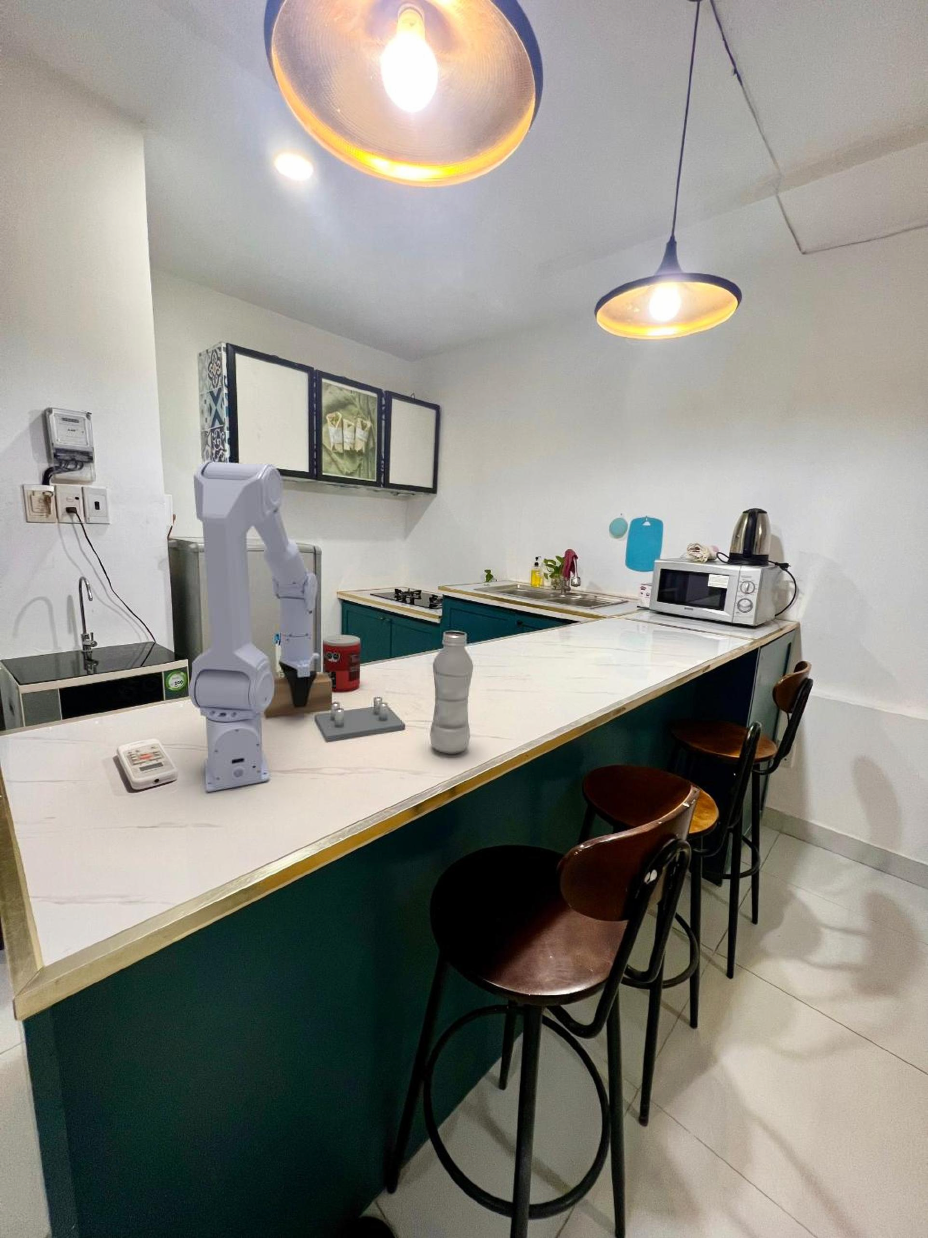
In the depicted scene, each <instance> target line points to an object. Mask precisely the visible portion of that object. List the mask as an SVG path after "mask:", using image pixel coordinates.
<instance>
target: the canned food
mask: <svg viewBox="0 0 928 1238" xmlns="http://www.w3.org/2000/svg"><path fill="white" fill-rule="evenodd" d="M324 673H326V674H327V675H328V676H329V678H330V679H331V680H332V693H348V692H351V691H355V690H357V689H358V688H359V686H360V684H361V638H360V637H358V636H356V635H350V634H349V635H348V634H335V635H328V636H325V637H323V638H322V674H324Z"/></svg>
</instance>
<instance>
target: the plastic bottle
mask: <svg viewBox="0 0 928 1238" xmlns="http://www.w3.org/2000/svg"><path fill="white" fill-rule="evenodd" d="M467 636H468V635H467V633H466V632H464V631H459V630H447V631H444V632H443V636H442V643H441V644H442V645H443V647H442V648H441V649H440V651H438V653H437V655H436V656H435V657H434V659H433V662H432V673H433V680H434V681H433V682H434V709H433V717H432V722H431V726H430V731H429V739H430V744H431V745H432V747H433V749H434V750H436V751H437V752H439V753H443V754H450V755H452V754H459V753H462V752H464V751H465V750H466V748H468V746H469V744H470V740H471V739H470V738H471V732H470V731H471V730H470V729H471V728H470V724H469V696H470V686H471V681H472V677H473V672H474V664H473V660H472V658H471V656H470V654H469V653H468V651H467V649H465V648H466V646H467V644H468V643H467Z"/></svg>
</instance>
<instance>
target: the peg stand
mask: <svg viewBox="0 0 928 1238" xmlns="http://www.w3.org/2000/svg"><path fill="white" fill-rule="evenodd" d="M388 704H389V703H388V702H384V701H383V697H381V696H375V697H374V698H373V706H369V707H361V708H355V709H354V708H353V709H347V710H346V709H344V708H343V707H341V702H338V701H335V702H334V701H332V703H331V710H330V711H329V712H324V713H316V714H314V721H315V723H316V724H317V727H318V729H319V730H320V732H321V734H322V736H323V738H324V740H325V742H326V743H328V742H329V743H330V742H336V741H342V740H347V739H348V740H349V739H354V738H361V737H367V736H372V735H373V736H374V735H379V734H385V733H393V732H398V731H404V730H406V724H405V722H403V720H401V718H400V717H399V716H398V715H397V714H396V713H395V712H394V710H392V709H391V708H390V706H389V705H388Z"/></svg>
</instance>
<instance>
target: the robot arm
mask: <svg viewBox="0 0 928 1238" xmlns="http://www.w3.org/2000/svg"><path fill="white" fill-rule="evenodd" d="M193 486H194V487H193V489H194V501H195V510H196V511H195V513H196V514H195V515H196V518H197V520H199V521H200V522H201V523H202V537H203V549H204V550H203V551H204V564H205V577H206V592H207V593H206V594H207V603H208V617H209V633H210V642H211V643H210V647H209V648H207V649H206V650H205V651H203V652H202V653H200V654H199V655H197V657H196V658H195V659H194V660H193V661H192V662H191V667H192V669H191V671H192V672H191V679H190V682H189V689H188V694H189V698H190V701H191V703H192V705H193V706H194V707H195V708H197V709H199V713H200V716H203V717H205V724H206V725H205V726H206V729H205V730H206V741H207V742H206V745H207V757H206V758H205V760H204V761H205V762H204V764H205V767H204V768H205V791H206V792H214V791H219V790H224V789H231V788H235V787H241V786H246V785H251V784H257V783H261V782H262V783H263V782H267V781H270V774H269V773H270V772H269V769H268V765H267V762H266V761H267V760H266V758H265V754H264V750H263V730H262V729H263V728H262V727H263V724H262V713H264V710H265V709H266V708H267V707H268V706H269V705H270V703H271V701H272V698H273V694H274V678H275V677H274V676H273V674H272V670H271V663H270V657H268V656H267V655H266V654H265V652H263V651H261V649H259V648H257V647H256V646H255V645H254V644H253V640H252V638H253V637H252V635H253V634H252V619H251V618H252V617H251V615H252V614H251V601H250V599H251V598H250V585H249V584H250V580H249V562H248V560H249V559H248V542H247V538H248V537H247V534H248V533H249V531H250V529H252V527H254V529H255V530H256V532H257V534H258V536H259V538H260V539H261V540H262V542H263V543H264V545H265V547H264V550H263V555H262V556H263V558H264V560H265V563H266V564H267V565H268V567H269V570H270V572H271V574H272V577H271V583H272V587H273V594H274V596H275V597H276V599H278V600H279V612H280V613H279V621H280V624H279V625H280V656H279V660H280V661H279V662H278V665H279V667H280V668H281V670H282V673H283V677H286V679H287V680H288V683H289V686H290V689H291V695H292V700H293V704H294V707H295V708H299V707H306V705H307V701H308V697H309V692H310V688H311V686H312V683H313V681H314V679H315V678H316V676H317V674H318V673H317V671H316V670H311V665H312V663H313V662H314V660H319V659H320V654H319V653H318V652H314V650H313V649H314V647H313V646H314V645H313V644H314V643H313V642H314V639H313V638H314V637H313V635H314V633H313V631H314V628H313V627H314V626H313V623H314V621H313V619H314V618H313V616H314V615H313V611H314V609H315V608H316V598H317V593H318V586H319V585H318V580H317V575H316V574H315V573H312V571H311V570H309V569H308V568H307V566H306V564H305V561H304V558H303V556H302V554H301V552H300V549H299V546H298V544H297V542H295V541H293V540H292V539H289V538H288V536H287V533H286V532H287V531H286V530H285V527H284V523H283V518H282V515H281V513H280V507H281V505H282V499H283V494H284V486H283V480H282V476H281V474H280V472H279V470H278V468H277V467H276V466H275V465H274V464H272V463H264V464H258V463H241V462H240V463H239V462H223V461H220V462H219V461H214V460H205V461H204V462H202V463H201V465H200V466H199V467H198V469H197V470H196V471H195V473H194V474H193Z"/></svg>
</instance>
